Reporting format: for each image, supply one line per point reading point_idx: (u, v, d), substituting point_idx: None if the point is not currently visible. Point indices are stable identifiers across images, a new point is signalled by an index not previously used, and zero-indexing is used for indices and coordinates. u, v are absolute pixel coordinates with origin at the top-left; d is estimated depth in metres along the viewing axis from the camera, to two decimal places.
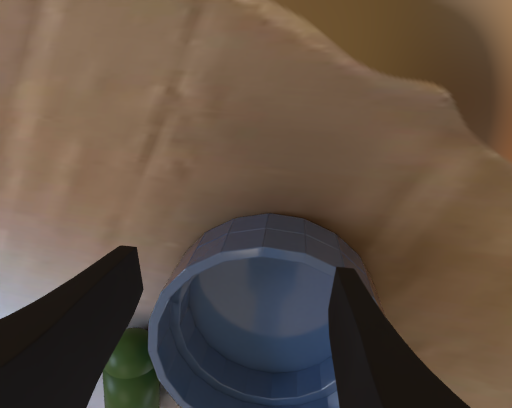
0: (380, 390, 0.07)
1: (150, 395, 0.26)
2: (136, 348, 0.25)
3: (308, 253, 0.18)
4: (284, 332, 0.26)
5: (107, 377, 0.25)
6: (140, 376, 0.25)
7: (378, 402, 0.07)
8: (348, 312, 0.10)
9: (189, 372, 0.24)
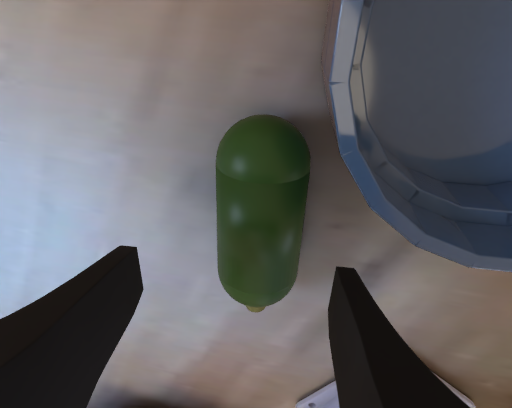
0: (380, 390, 0.07)
1: (302, 221, 0.16)
2: (286, 131, 0.14)
3: None
4: None
5: (243, 191, 0.14)
6: (301, 179, 0.14)
7: (378, 403, 0.07)
8: (348, 312, 0.10)
9: (371, 166, 0.13)
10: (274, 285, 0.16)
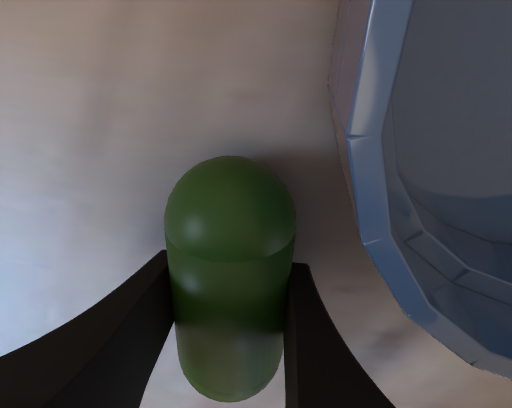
0: (300, 380, 0.07)
1: (284, 302, 0.11)
2: (256, 186, 0.09)
3: None
4: None
5: (190, 267, 0.10)
6: (275, 255, 0.10)
7: (296, 392, 0.07)
8: (291, 306, 0.10)
9: (401, 239, 0.09)
10: (241, 383, 0.12)
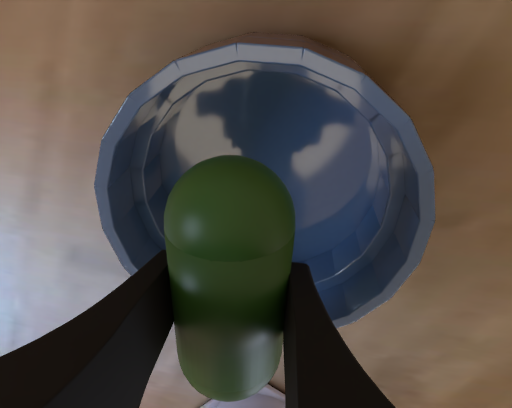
0: (300, 380, 0.07)
1: (283, 301, 0.11)
2: (256, 185, 0.09)
3: (307, 48, 0.12)
4: None
5: (189, 266, 0.10)
6: (274, 254, 0.10)
7: (296, 392, 0.07)
8: (291, 306, 0.10)
9: None
10: (240, 383, 0.12)
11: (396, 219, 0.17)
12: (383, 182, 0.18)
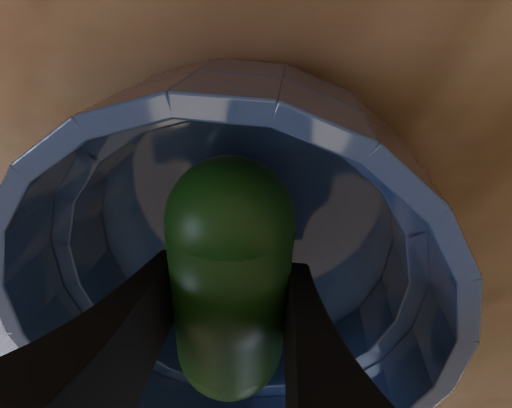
0: (300, 380, 0.07)
1: (283, 301, 0.11)
2: (256, 185, 0.09)
3: (283, 100, 0.07)
4: None
5: (189, 266, 0.10)
6: (275, 253, 0.10)
7: (296, 392, 0.07)
8: (291, 306, 0.10)
9: None
10: (240, 383, 0.12)
11: (416, 313, 0.12)
12: (397, 258, 0.13)
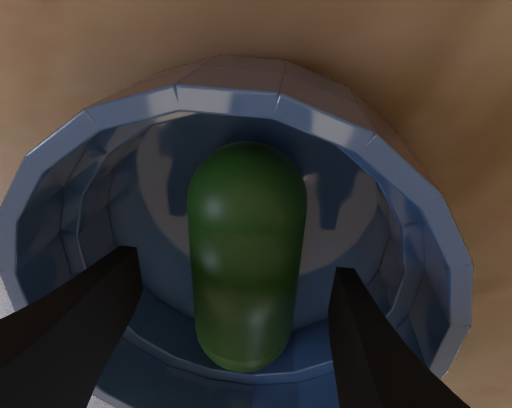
0: (380, 390, 0.07)
1: (298, 270, 0.13)
2: (277, 165, 0.11)
3: (285, 93, 0.08)
4: None
5: (222, 244, 0.11)
6: (297, 225, 0.11)
7: (379, 402, 0.07)
8: (348, 312, 0.10)
9: (118, 343, 0.15)
10: (264, 350, 0.13)
11: (412, 301, 0.13)
12: (394, 248, 0.13)
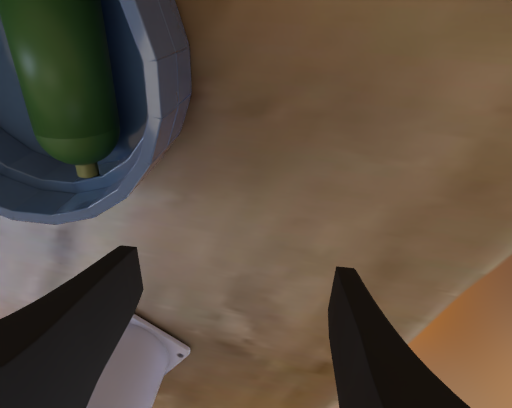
0: (380, 390, 0.07)
1: (109, 58, 0.17)
2: None
3: None
4: None
5: (44, 12, 0.14)
6: (97, 2, 0.15)
7: (378, 403, 0.07)
8: (348, 312, 0.10)
9: None
10: (104, 124, 0.17)
11: None
12: None
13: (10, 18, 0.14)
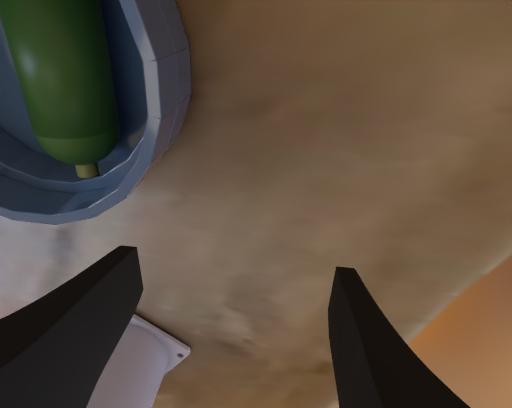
0: (380, 390, 0.07)
1: (109, 58, 0.17)
2: None
3: None
4: None
5: (44, 12, 0.14)
6: (97, 2, 0.15)
7: (378, 403, 0.07)
8: (348, 312, 0.10)
9: None
10: (104, 124, 0.17)
11: None
12: None
13: (10, 18, 0.14)
